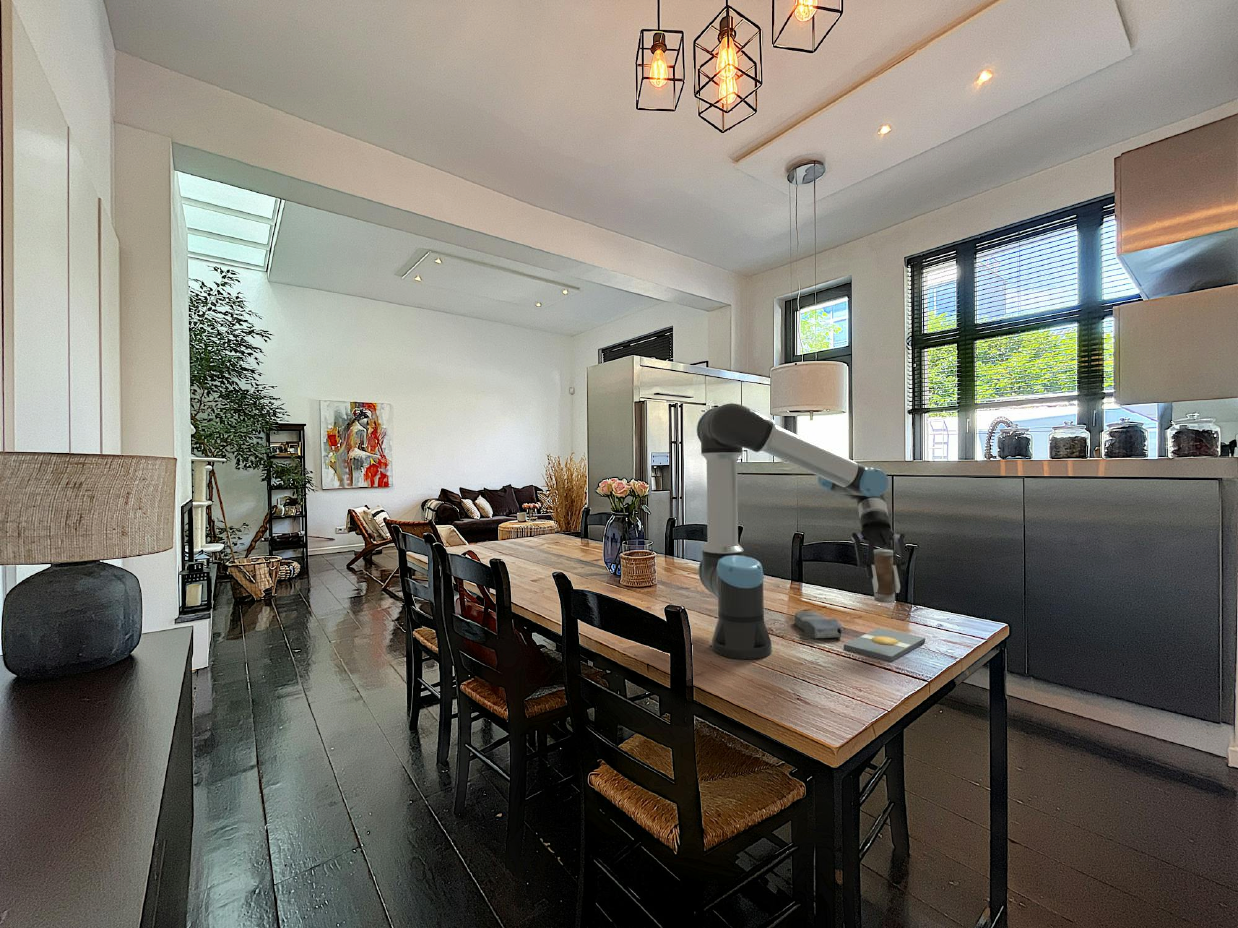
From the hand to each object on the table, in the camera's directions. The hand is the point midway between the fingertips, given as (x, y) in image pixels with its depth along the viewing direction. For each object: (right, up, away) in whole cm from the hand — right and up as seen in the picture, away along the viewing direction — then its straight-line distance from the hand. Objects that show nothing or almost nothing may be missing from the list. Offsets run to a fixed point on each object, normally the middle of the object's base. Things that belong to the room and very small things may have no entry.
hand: (887, 589), depth 136 cm
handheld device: (-12, -16, +18) cm, 27 cm away
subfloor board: (+1, -16, +4) cm, 16 cm away
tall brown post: (+1, -4, +4) cm, 5 cm away
